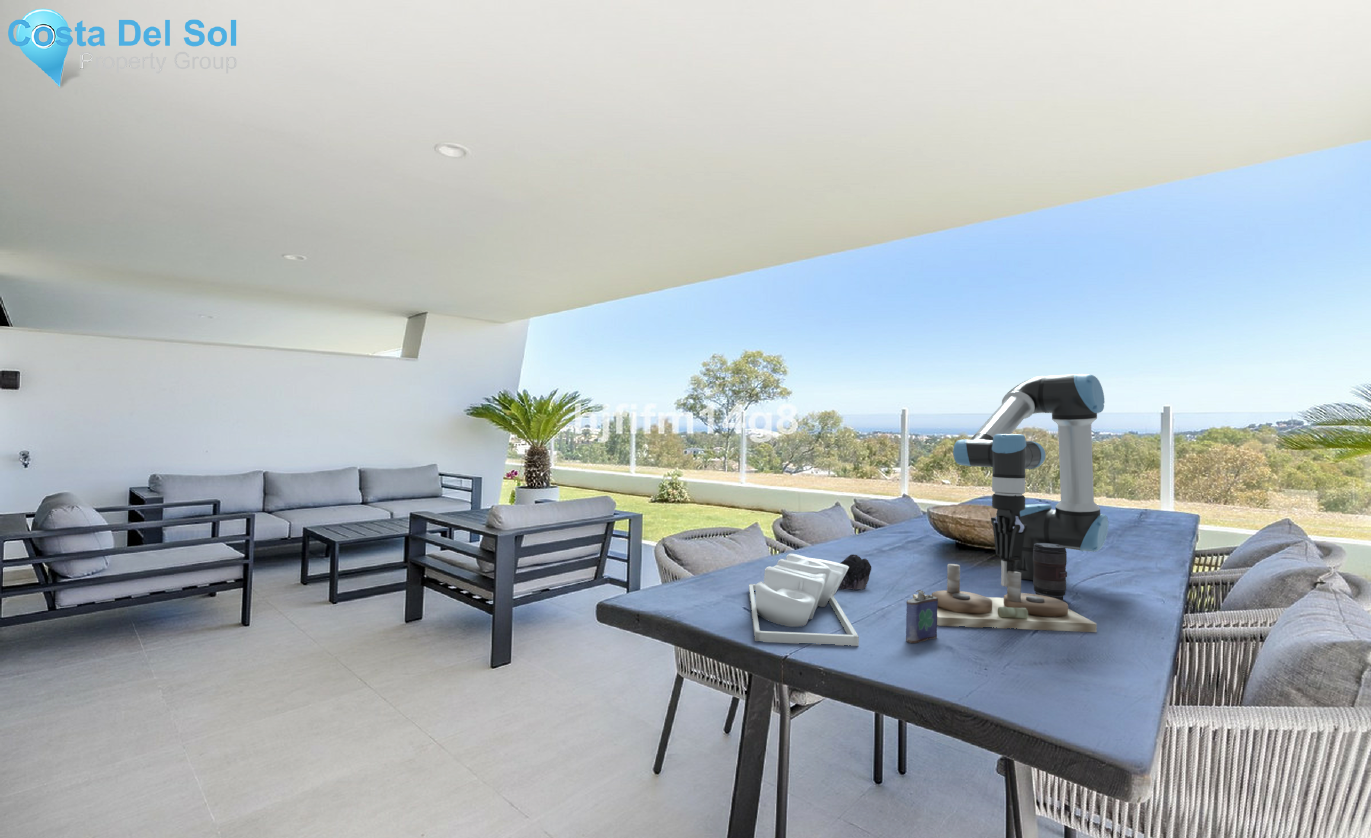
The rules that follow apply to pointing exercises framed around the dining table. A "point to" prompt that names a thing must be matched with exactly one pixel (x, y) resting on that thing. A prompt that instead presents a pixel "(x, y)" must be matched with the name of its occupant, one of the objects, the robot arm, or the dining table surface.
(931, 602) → the flask
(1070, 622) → the base
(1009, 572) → the dial
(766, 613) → the wavy white extrusion
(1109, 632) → the dining table surface
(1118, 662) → the dining table surface
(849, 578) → the crystal cluster
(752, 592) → the white rectangular frame
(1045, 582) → the camera lens
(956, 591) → the dial
